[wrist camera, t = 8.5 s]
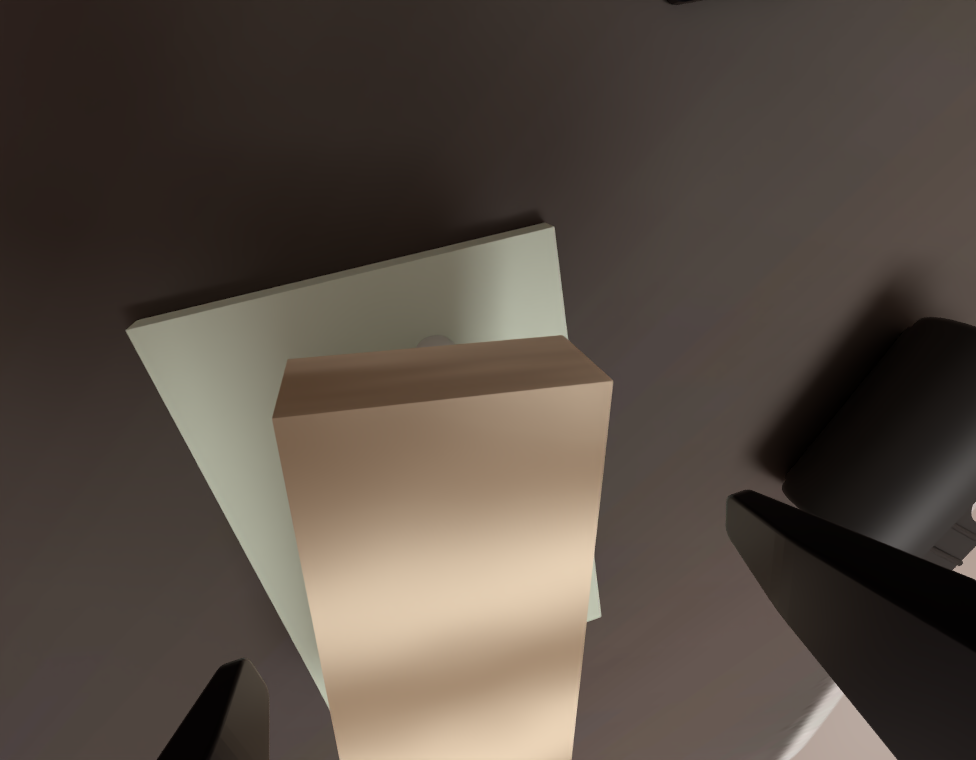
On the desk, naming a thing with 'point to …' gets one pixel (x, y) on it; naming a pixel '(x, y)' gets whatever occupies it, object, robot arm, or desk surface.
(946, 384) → the end cap
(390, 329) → the peg plate
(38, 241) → the desk surface
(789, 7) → the desk surface
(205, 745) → the robot arm
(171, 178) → the desk surface
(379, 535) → the shelf board
